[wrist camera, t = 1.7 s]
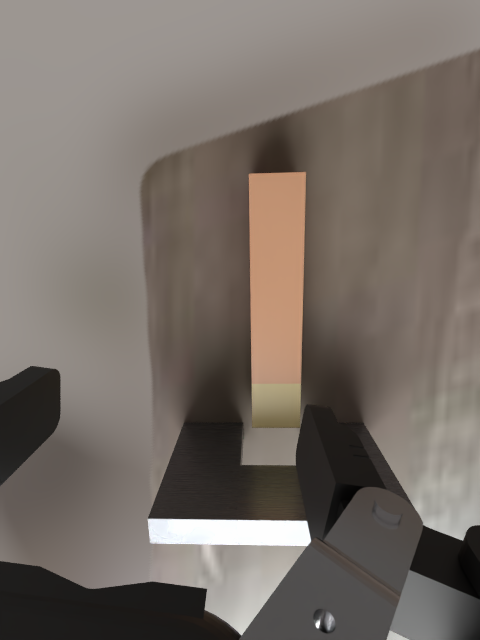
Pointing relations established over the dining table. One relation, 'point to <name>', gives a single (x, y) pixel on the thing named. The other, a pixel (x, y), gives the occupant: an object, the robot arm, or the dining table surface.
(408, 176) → the dining table surface
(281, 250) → the plug
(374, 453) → the plate
